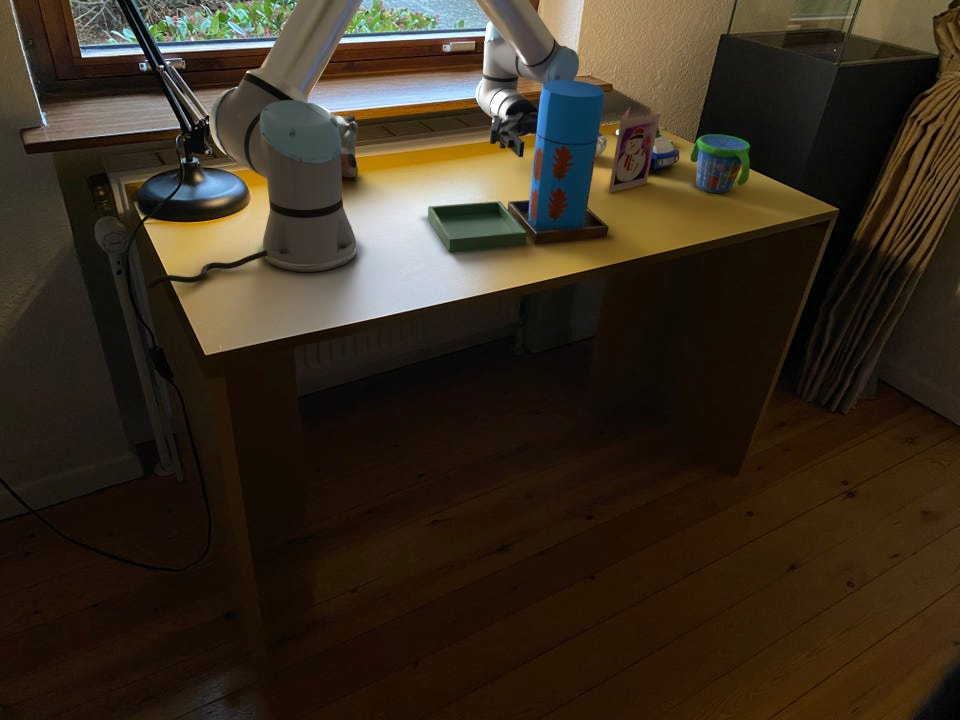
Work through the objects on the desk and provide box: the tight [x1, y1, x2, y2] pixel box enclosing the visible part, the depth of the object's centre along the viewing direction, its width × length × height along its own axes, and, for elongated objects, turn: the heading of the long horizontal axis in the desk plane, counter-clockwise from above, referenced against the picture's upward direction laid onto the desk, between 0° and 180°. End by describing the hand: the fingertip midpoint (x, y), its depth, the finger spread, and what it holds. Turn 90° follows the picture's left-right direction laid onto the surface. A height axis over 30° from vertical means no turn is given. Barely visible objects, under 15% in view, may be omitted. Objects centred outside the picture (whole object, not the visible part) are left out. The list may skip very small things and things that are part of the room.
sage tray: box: [427, 200, 528, 253], centre depth 133 cm, size 14×14×2 cm
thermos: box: [528, 80, 605, 232], centre depth 132 cm, size 11×11×25 cm
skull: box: [595, 131, 608, 158], centre depth 168 cm, size 8×9×12 cm
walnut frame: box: [507, 199, 610, 245], centre depth 138 cm, size 14×14×2 cm
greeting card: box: [608, 106, 661, 194], centre depth 154 cm, size 11×7×15 cm, turn 126°
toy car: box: [648, 125, 681, 173], centre depth 166 cm, size 9×12×10 cm
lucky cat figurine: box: [334, 113, 359, 180], centre depth 149 cm, size 15×12×14 cm
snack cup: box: [689, 133, 751, 194], centre depth 156 cm, size 16×10×10 cm
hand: (556, 148), depth 134 cm, fingers open, 13 cm apart
